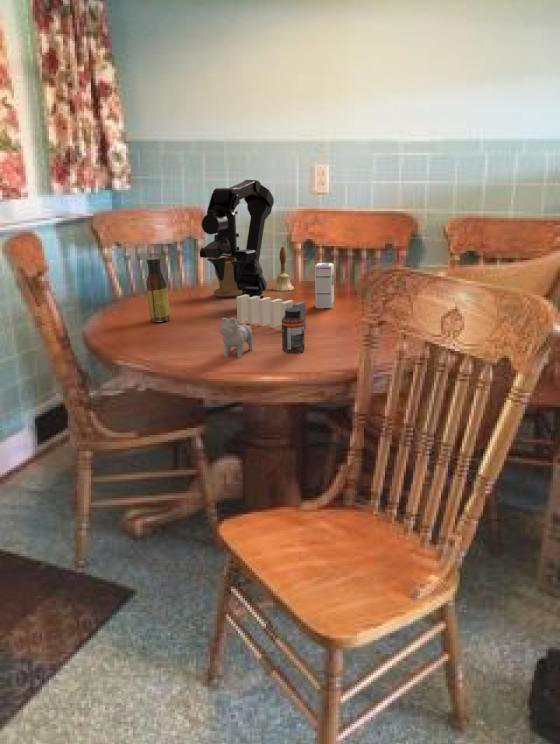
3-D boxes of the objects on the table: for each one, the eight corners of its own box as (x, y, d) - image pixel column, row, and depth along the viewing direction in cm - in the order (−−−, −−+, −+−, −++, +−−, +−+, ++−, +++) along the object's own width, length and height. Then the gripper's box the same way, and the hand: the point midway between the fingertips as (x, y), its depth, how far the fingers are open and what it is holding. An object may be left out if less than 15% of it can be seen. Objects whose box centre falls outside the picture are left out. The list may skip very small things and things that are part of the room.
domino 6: (292, 331, 194) (292, 304, 192) (301, 327, 198) (300, 301, 195) (297, 331, 193) (297, 305, 191) (305, 328, 197) (305, 302, 194)
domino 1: (237, 322, 206) (236, 296, 204) (246, 319, 209) (245, 294, 207) (241, 322, 205) (240, 297, 203) (250, 319, 209) (249, 294, 206)
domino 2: (248, 323, 204) (247, 298, 201) (256, 320, 207) (256, 295, 205) (252, 324, 203) (251, 298, 200) (260, 321, 206) (260, 296, 204)
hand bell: (271, 287, 258) (270, 246, 253) (292, 286, 259) (292, 245, 254) (273, 291, 250) (272, 249, 245) (295, 290, 251) (294, 248, 246)
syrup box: (332, 308, 221) (332, 265, 216) (314, 308, 222) (314, 265, 218) (334, 305, 226) (334, 262, 222) (317, 304, 227) (317, 262, 223)
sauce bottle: (173, 319, 211) (169, 257, 205) (164, 324, 206) (159, 260, 199) (155, 318, 213) (150, 256, 207) (145, 322, 208) (140, 259, 201)
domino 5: (281, 329, 197) (280, 302, 194) (289, 326, 200) (289, 300, 198) (285, 329, 196) (285, 303, 193) (294, 326, 199) (293, 300, 197)
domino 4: (270, 327, 199) (269, 301, 197) (278, 324, 202) (278, 298, 200) (274, 328, 198) (273, 301, 196) (282, 325, 202) (282, 299, 199)
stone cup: (215, 300, 237) (212, 258, 232) (212, 294, 248) (210, 254, 244) (256, 298, 239) (255, 256, 235) (252, 292, 251) (251, 252, 246)
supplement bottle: (281, 348, 177) (280, 307, 174) (303, 347, 178) (302, 306, 174) (283, 354, 172) (282, 312, 168) (305, 353, 172) (305, 311, 169)
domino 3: (258, 325, 201) (258, 299, 199) (267, 322, 205) (266, 297, 202) (263, 326, 200) (262, 300, 198) (271, 323, 204) (271, 297, 201)
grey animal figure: (216, 360, 169) (214, 319, 165) (237, 346, 180) (235, 308, 176) (234, 362, 167) (232, 321, 163) (255, 348, 178) (253, 309, 174)
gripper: (186, 232, 201) (189, 282, 206) (233, 235, 190) (235, 288, 195) (210, 228, 209) (212, 277, 214) (257, 231, 199) (258, 282, 204)
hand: (228, 281), depth 207 cm, fingers open, 6 cm apart
